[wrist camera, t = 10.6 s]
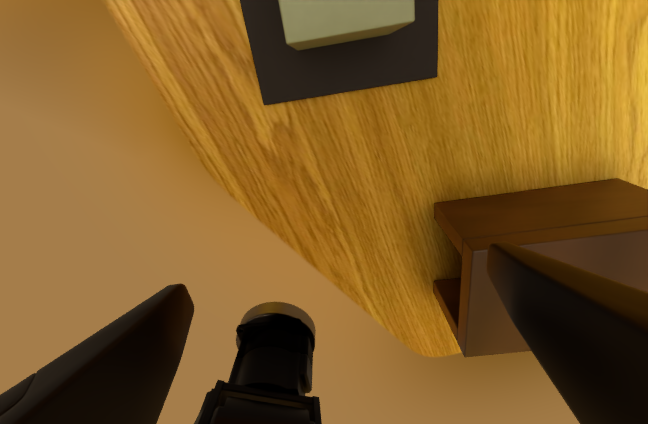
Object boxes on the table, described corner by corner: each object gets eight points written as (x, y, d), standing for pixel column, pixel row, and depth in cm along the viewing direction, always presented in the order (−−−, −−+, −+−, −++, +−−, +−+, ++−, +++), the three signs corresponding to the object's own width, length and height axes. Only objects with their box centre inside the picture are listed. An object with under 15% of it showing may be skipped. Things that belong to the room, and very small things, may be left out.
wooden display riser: (433, 292, 24) (464, 358, 19) (433, 202, 20) (472, 251, 15) (589, 274, 23) (670, 337, 18) (618, 178, 20) (729, 220, 14)
